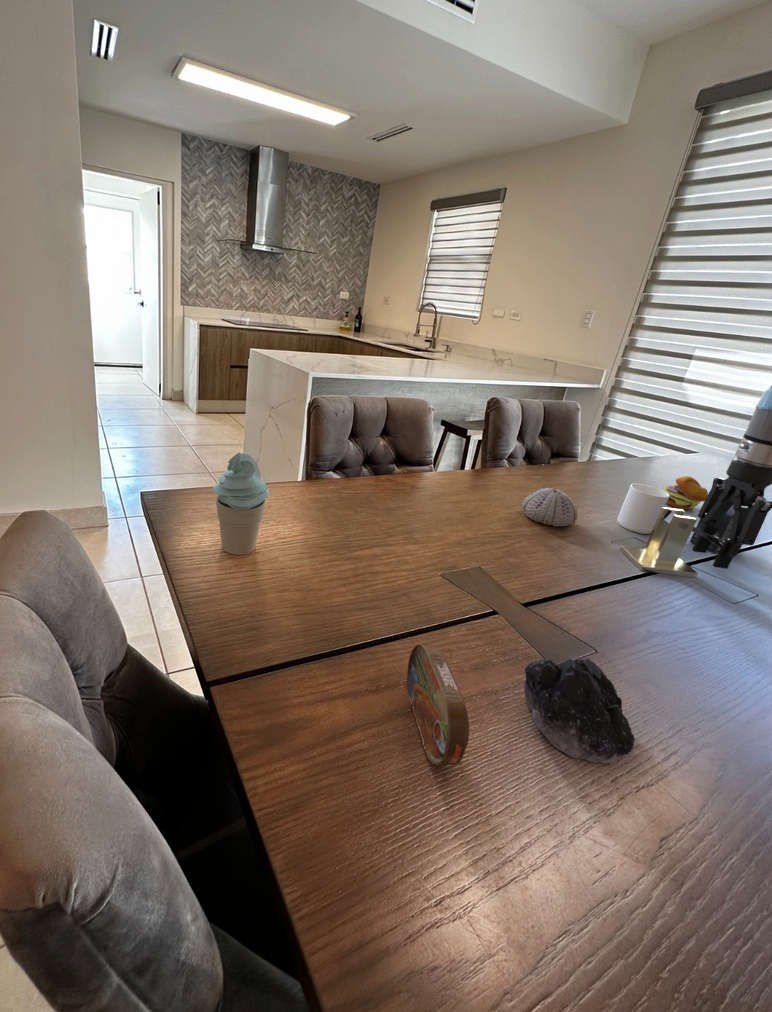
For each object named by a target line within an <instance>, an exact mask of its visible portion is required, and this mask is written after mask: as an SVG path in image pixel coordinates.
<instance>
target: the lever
mask: <svg viewBox="0 0 772 1012" xmlns="http://www.w3.org/2000/svg"><path fill="white" fill-rule="evenodd" d="M673 515H678V514H676V513H674V512H671V513H670V514H669V515H668V516H667V517H666V518H665V521H666V522H667V523H669V524H670V522H671V520H672V518H673ZM678 516H680V515H678ZM696 527H697V526H696ZM696 527H695V526H694V527H693V529H692V532H691V533H696V534H698V535H700V536H702V537H704V538H706V539H708V540H710V541H711V542H713V543H714V544H716V545H717V546H719V547H720V548H721V547H722V545H723V543H724V541H722V540H721V539H719V538H718V537H716V536H715V535H713V534H712V533H710V532H707V533H706V532H704V531H702V530H700V529H698V528H696Z"/></svg>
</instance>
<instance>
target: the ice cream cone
mask: <svg viewBox="0 0 772 1012" xmlns="http://www.w3.org/2000/svg"><path fill="white" fill-rule="evenodd" d="M227 463H228V466H227V470H225V471H223V472H222V474H223V475H221V476H220V477H219V478H218V483H217V484H215V485H214V486H213V487H212V491H213V493H215V494H216V495H217V496H216V499H215V506H216V515H217V519H218V523H219V532H220V543H221V548H222V550H223V551H224V552H226V553H227V552H228V554H231V555H234V554H235V556H242V555H243V556H244V555H248V554H250V553H252V552H254V551H255V549H256V546H257V541H258V535H259V531H260V526H261V522H262V520H263V517H264V511H265V508H266V499H268V498H269V496H270V495H271V492H270V490H269V489H268V488H269V486H268V484H267V483H266V481H265V480H264V478H263V477H262V474H261V471H260V470H261V469H260V468H259V465H258V463H257V461H256V460H255V458H254V457H252V456H251V455H249V454H246V453H241V451H239V452H238V453H236V454H235V455H233V456H232V457H231V458H230V459H228V460H227Z"/></svg>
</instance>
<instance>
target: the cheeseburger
mask: <svg viewBox="0 0 772 1012" xmlns="http://www.w3.org/2000/svg"><path fill="white" fill-rule="evenodd" d="M675 483H676V485H669V486H665V487H664V488H663V489H661V490H663V491H665V492H667V493H668V494H669V498H668V501H667V503H666V504H668V505H670V506H672V507H674V508H675V509H681V510H693V509H694V508H696V507H698V505H700V503H702V502H704V501H705V500H706V498H707V496H708V494H709V492H708V490H707V488H706V487H702V485H700V483H699V482H698V480H696V479H695V478H694V477H692V476H688V475H686V476H680V477H677V478H676V479H675Z"/></svg>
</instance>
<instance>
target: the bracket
mask: <svg viewBox="0 0 772 1012" xmlns="http://www.w3.org/2000/svg"><path fill="white" fill-rule="evenodd" d="M671 512H674V513H676V514H678V515H680V516H678V515H673V518H672V520H671V522H670V524H669V523H667V522H666V521H665V518H666V517H667V516H668V515H669V514H670V513H671ZM685 513H686V512H685V509H681V508H675V507H674V508H673V507H666V506H665V507H662V509H661V511H660V514H659V516H658V518H657V521H656V523H655V525H654V527H653V530H652V532H651V533H650V534H649V537H648V539H647V542H646V544H645V546H644V548H642V547H634V546H626V545H621V546H620V549H619V551H620V552H621V553H622V554H623V555H624V556H625V557H626V558H627V559H628V560H629V561H630V562H631V563H632V564H633V565H634V566H635V567H636V568H638V569H639V571H641V572H647V573H654V574H655V573H656V574H663V575H670V576H677V577H685V578H692V579H697V577H698V576H699V572H697V571H696V570H695V569H694V568H693V567H691V566H690V565H689V564H687V562H685V561H684V560H683V559H682V558H680V557H681V555H682V553H683V550H684V548H685V546H686V545H687V542H688V540H689V538H690V536H691V534H692V533H693V532H692V529H693V527H695V525H696V524H697V520H698V519H697V518H696V517H692V516H687V515H686V516H685Z"/></svg>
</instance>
